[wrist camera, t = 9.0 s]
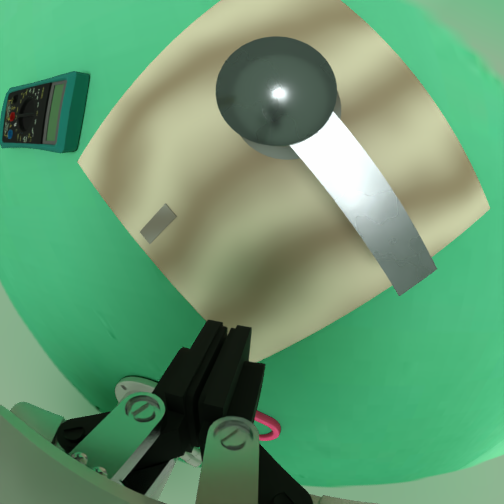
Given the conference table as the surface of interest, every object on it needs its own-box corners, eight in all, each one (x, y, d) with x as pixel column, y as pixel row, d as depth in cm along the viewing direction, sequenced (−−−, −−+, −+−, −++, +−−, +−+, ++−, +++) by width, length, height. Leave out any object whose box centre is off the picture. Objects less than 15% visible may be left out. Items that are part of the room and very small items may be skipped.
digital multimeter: (20, 88, 19) (2, 89, 16) (96, 73, 17) (73, 69, 14) (13, 145, 22) (-5, 149, 19) (82, 151, 20) (59, 154, 17)
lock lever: (224, 103, 14) (193, 88, 10) (288, 51, 12) (279, 17, 8) (365, 275, 16) (379, 315, 12) (427, 230, 14) (460, 257, 10)
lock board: (479, 203, 14) (490, 208, 13) (254, 353, 23) (250, 365, 21) (285, -29, 11) (283, -40, 10) (89, 159, 19) (76, 161, 18)
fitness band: (206, 413, 28) (202, 423, 27) (226, 392, 26) (222, 403, 25) (264, 439, 28) (262, 449, 27) (290, 422, 26) (289, 432, 25)
